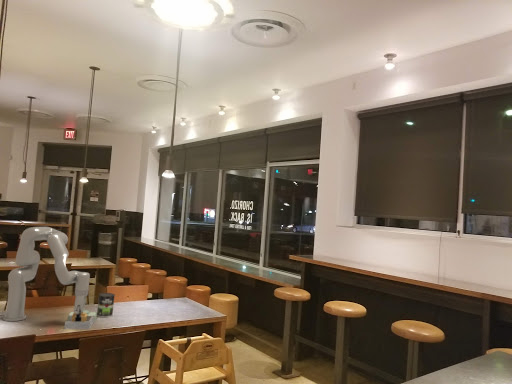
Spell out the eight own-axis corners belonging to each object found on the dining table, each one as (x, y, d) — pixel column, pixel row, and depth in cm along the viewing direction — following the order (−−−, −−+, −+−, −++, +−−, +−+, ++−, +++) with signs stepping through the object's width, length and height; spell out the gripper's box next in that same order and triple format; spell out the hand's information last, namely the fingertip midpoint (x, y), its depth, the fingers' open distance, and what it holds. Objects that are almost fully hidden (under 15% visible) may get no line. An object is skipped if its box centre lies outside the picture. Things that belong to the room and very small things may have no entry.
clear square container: (64, 328, 238) (65, 321, 238) (69, 321, 252) (70, 315, 252) (89, 328, 241) (90, 321, 242) (93, 322, 255) (94, 315, 256)
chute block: (71, 324, 243) (72, 314, 244) (73, 322, 248) (74, 312, 249) (85, 324, 245) (86, 314, 245) (86, 322, 250) (87, 312, 250)
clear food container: (67, 322, 251) (68, 313, 252) (70, 318, 260) (71, 309, 261) (94, 322, 255) (94, 313, 255) (96, 318, 264) (97, 310, 264)
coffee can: (113, 317, 270) (115, 296, 270) (97, 317, 265) (99, 296, 265) (111, 313, 279) (113, 292, 279) (95, 313, 274) (98, 292, 275)
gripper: (77, 289, 255) (75, 318, 254) (72, 295, 239) (69, 326, 238) (90, 290, 257) (87, 318, 256) (85, 295, 240) (82, 326, 239)
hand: (78, 322), depth 247 cm, fingers closed on chute block, 4 cm apart
